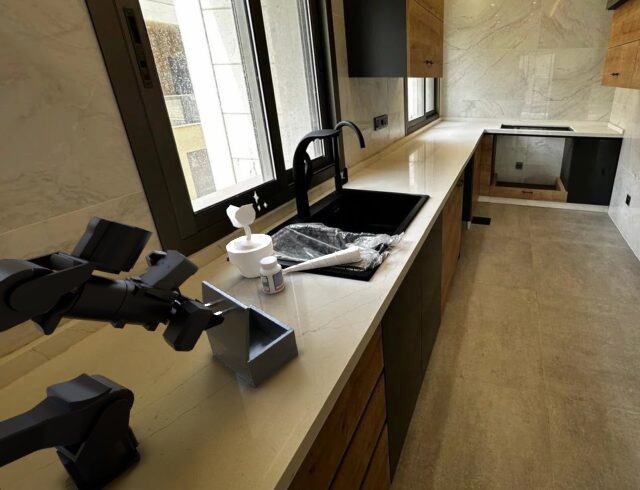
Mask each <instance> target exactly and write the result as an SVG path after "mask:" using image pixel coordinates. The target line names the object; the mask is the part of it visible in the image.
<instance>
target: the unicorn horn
mask: <svg viewBox="0 0 640 490" xmlns="http://www.w3.org/2000/svg"><path fill="white" fill-rule="evenodd" d="M361 261H362V255H361V250H360V247H359V246H358V245H354V246H351V247H348V248H345V249H342V250H339V251H335V252H333V253H329V254H325V255H322V256H321V257H315V258H312V259H309V260H306V261H304V262H301V263H297V264H295V265H292V266H289V267H287V268H284V269H282V273H290V272H298V271H299V272H300V271H306V270H307V271H308V270H313V269H319V268H327V267H332V266H339V265H345V264H351V263H358V262H361Z"/></svg>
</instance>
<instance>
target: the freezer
mask: <svg viewBox="0 0 640 490" xmlns="http://www.w3.org/2000/svg"><path fill="white" fill-rule="evenodd" d="M247 307H249V361H247V362H246V361H244V360H243V359H242V358H240V357H239V356H238V355H236V354H235V353H234V352H232V351H231V350H230V349H228V348H227V347H226V346H224V345H223V344H222V343H220V342H219V341H218V340H216V339H215V338H214V337H212V336H211V335H210V334H208V333H207V332H206V331H205V333H206V336H207V340H208V342H209V346H210V349H211V352H212V355H213V356H214V357H215V358H216V359H218V360H219V361H220V362H221V363H223V364H224V365H225V366H226V367H228V368H229V369H230V370H231V371H232V372H234V373H235V374H236V375H237V376H238V377H240V378H241V379H242V380H244V381H245V382H246V383H248V385H250V386H251V387H252V388H253V389H256V388H258V386H260V385H261V384H263V383H264V382H265V381H267V380H268V379H269V378H270V377H271V376H272V375H273V374H275V373H276V372H278V371H279V370H280V369H281V368H283V367H284V366H285V365H286V364H288V363H289V362H290V361H292V360H293V359H294V358H295V357H296V356H297V355H299V350H298V344H297V339H296V333H295V329H294V328H292V327H290V326H288V325H287V324H286V323H283V322H282V321H280V320H278V319H276V318H275V317H274V316H271V314H268V313H267V312H264V311H263V310H262V309H260V308H259V307H256V306H254V305H253V304H250V305H247Z"/></svg>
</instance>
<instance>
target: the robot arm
mask: <svg viewBox="0 0 640 490" xmlns="http://www.w3.org/2000/svg"><path fill="white" fill-rule="evenodd" d="M153 234H154V232H153V231H150V230H148V229H145V228H141V227H138V226H134V225H130V224H127V223H123V222H118V221H116V220H110V219H107V218H103V217H99V216H92V217H91V218H90V219H89V221H88V223H87V225H86V228H85V231H84V232H83V234H82V235H81V237H80V239H79V240H78V242H77V243H76V245H75V246H74V248H73V250H72V251H71V253H69V252H66V251H62V250H57V251H52V252H50V253H45V254H41V255H38V256H35V257H31V258H26V259H21V258H20V259H19V258H2V259H1V258H0V334H1V333H4V332H6V331H8V330H11V329H13V328H14V327H17V326H19V325H21V324H24V323H25V322H28V321H31V322H32V323H33V325H34V328H35V329H36V330H38V331H39V332H40V333H42V334H43V335H44V336H51V335H52V334H54V332H55V330H56V329H57V328H58V326H59V324H60V322H61V321H62V319H64V320H65V319H66V320H77V321H88V322H99V323H109V324H110V325H111V326H112V328H114V329H122V330H123V329H124V328H125V326H126V325H131V326H141V327H143V328H144V329H145V330H146V331H147V332H156V330H157V328H158V327H159V325H160V324H163V325H164V326H166V328H165V329H164V332H163V333H162V338H163V340H164V342H165V343H166V344H167V345H169V346H170V347H171V348H172V349H173V350H174V351H175V352H181V353H184V352H185V353H189V352H191V351H193V350H194V349H195V347H196V345H197V343H198V341H199V340H200V337H201V336H202V334H203V333H204V332H206V331H205V330H207V329H210V328H213V327H215V326H218V325H220V324H222V323H223V321H224V319H225V318H224V317H222V316H219V315H217V314H214V313H212V310H211V309H210V308H208V307H207V306H205V305H204V304H203V301H201V300H199V299H198V298H195V299H193V298H191V297H188V296H187V295H185V294H182V292H181V290H180V287H181V286H183V284H184V283H186V281H187V280H188V279H190V278H191V277H192V276H194V275H196V273H197V272H199V266H198V265H197V264H196V263H194V262H193V260H190V259H189V258H188V257H187V256H185V255H184V254H182V253H181V252H179V251H177V250H175V249H173V250H171V249H167V250H166V251H159V250H155V249H154V250H151V251H150V252H149V253H147V255H146V256H144V259H145V261H146V264H147V266H148V267H146V268H145V271H146V272H144V273H142V274H139V276H132V275H131V276H130V277H128V276H127V277H126V278H125V279H120V278H114V277H108V276H103V275H98V274H93V273H94V272H95V271H97V272H102V273H106V274H111V275H120V274H121V272H124V273H130V271H131V270H133V269H134V268H135V265H136V264H137V262H138V261H139V258H140V256H141V255H142V253H143V251H144V249H145V248H146V246H147V244H148V243H149V241H150V239H151V237H152V235H153ZM45 392H46V397H44V399H42V400H41V401H40V402H38V403H37V404H36V405H35V406H34V407H32V408H31V409H29V410H27V411H25V412H23V413H20V414H18V415H14V416H12V417H9V418H7V419H4V420H1V421H0V469H1V468H3V467H5V466H8V465H10V464H12V463H13V462H16V461H18V460H20V459H23V458H24V457H26V456H29V455H31V454H33V453H36V452H38V451H41V450H48V449H52V448H54V449H55V450H56V451H55V452H56V455H57V457H58V459H59V461H60V463H61V464H62V466H63V468H64V470H65V471H66V472H67V474H68V476H69V478H70V480H71V482H72V484H73V486H74V488H75V490H102V489H103V488H104V487H106V486H107V485H109V484H110V483H111V482H112V481H114V480H115V479H116V478H117V477H119V476H120V475H122V474H123V473H124V472H126V471H127V470H128V469H129V468H131V467H132V466H133V465H135V464H136V463H138V462H139V461H140V460H141V458H142V456H141V454H140V452H139V451H138V449H137V448H139V445H140V443H139V442H138V440H137V438H136V435H135V433H134V431H133V428H132V426H130V417H131V410H132V409H133V406H134V403H135V394H134V392H133V391H132V390H131V389H129V388H128V387H125V386H124V385H123V384H120V383H118V382H116V381H115V380H113V379H111V378H109V377H106V376H105V375H103V374H91V375H89V374H88V373H86V372H83V373H82V374H80V375H78V376H76V377H74V378H72V379H70V380H67V381H63V382H58V383H54V384H51V385H49V386H47V387H46V389H45Z"/></svg>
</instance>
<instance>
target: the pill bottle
mask: <svg viewBox="0 0 640 490" xmlns="http://www.w3.org/2000/svg"><path fill="white" fill-rule="evenodd" d="M260 264H261V267H262V268H261V269H260V276H259V277H260V280H261V285H262V290H263V292H264V293H265V294H269V295H273V294H277V293H279V292H281V291H283V289H284V288H285V286H286V285H285V281H284V274H283V272H282V270H283V269H282V266H281V264H279V263H278V258H277V257H276V256H272V255H271V256H270V257H266V258H263V259H262V260H261V261H260Z"/></svg>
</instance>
